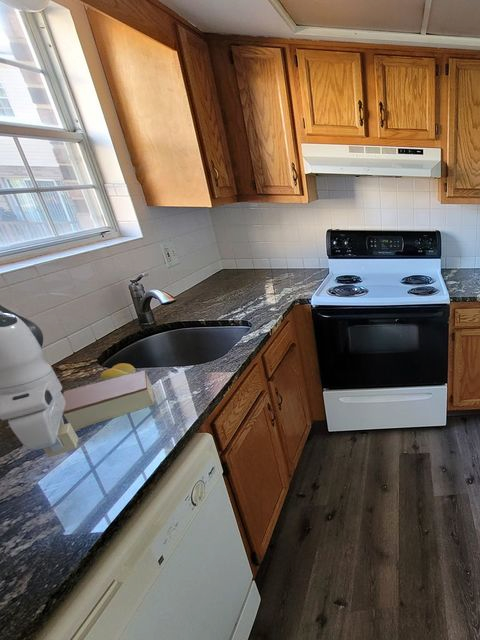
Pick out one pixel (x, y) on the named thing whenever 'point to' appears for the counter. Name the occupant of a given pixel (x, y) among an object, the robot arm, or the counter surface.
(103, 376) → the yellow rounded lump
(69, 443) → the tan block
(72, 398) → the cover
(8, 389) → the robot arm
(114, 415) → the case
